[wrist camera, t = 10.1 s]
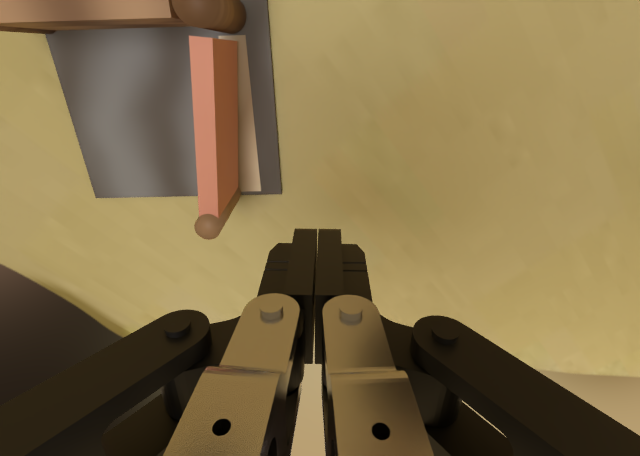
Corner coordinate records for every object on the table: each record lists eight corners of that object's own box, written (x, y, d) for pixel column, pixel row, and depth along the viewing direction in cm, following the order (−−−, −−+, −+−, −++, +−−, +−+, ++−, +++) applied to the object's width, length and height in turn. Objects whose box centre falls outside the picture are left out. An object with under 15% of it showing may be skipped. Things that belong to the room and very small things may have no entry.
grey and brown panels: (264, -32, 23) (240, -67, 16) (281, 192, 30) (269, 234, 23) (22, -24, 23) (-100, -55, 17) (91, 196, 30) (24, 239, 23)
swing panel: (216, 39, 24) (182, 34, 18) (240, 41, 24) (214, 38, 18) (220, 201, 29) (195, 238, 23) (241, 203, 29) (220, 240, 23)
